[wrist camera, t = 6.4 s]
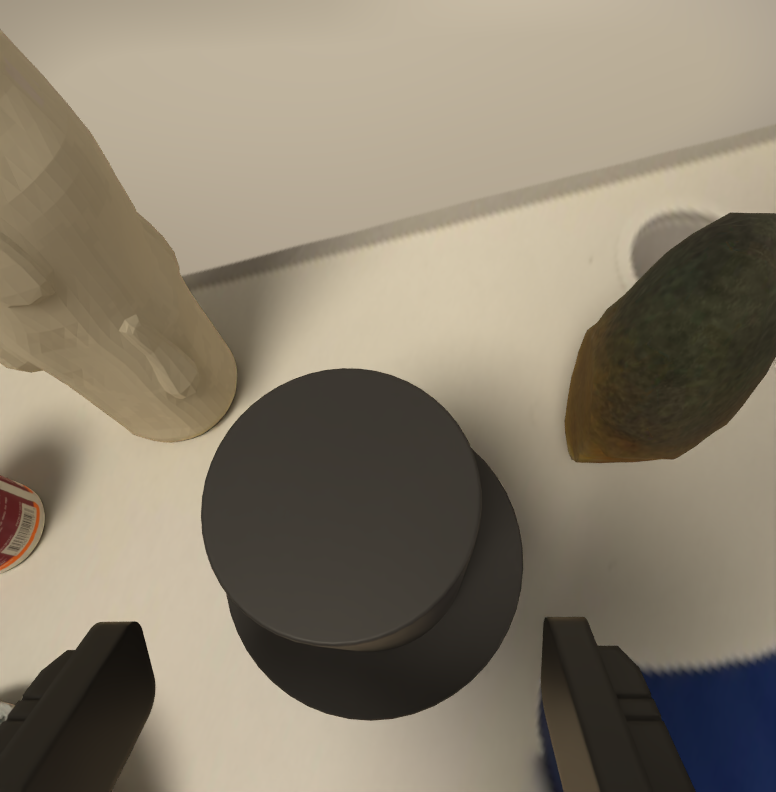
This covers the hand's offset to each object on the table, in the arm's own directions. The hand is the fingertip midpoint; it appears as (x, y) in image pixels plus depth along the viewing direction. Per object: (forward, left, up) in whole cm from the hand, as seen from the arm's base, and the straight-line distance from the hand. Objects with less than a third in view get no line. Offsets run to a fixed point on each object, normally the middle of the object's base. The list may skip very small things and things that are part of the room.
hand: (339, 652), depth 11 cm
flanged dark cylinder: (0, -3, -9) cm, 9 cm away
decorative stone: (-11, -10, -16) cm, 22 cm away
